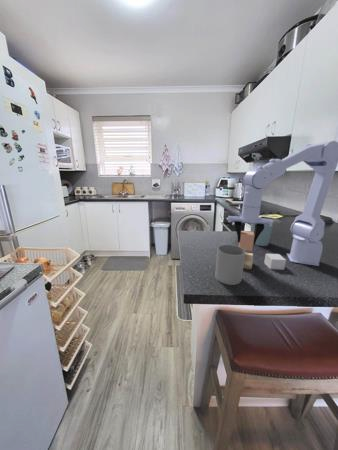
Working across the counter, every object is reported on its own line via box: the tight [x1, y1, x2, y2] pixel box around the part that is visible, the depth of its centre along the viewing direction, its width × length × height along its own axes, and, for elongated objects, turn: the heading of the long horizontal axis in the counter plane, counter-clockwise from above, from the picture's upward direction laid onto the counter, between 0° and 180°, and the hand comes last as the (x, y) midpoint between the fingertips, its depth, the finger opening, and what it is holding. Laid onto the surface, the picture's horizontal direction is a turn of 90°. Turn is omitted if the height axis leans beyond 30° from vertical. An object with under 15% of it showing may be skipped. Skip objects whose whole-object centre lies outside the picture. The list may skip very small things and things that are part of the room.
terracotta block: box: [238, 230, 255, 252], centre depth 70 cm, size 4×4×6 cm
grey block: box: [263, 253, 287, 271], centre depth 71 cm, size 5×5×4 cm
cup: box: [214, 244, 246, 286], centre depth 61 cm, size 8×8×10 cm
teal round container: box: [249, 217, 275, 247], centre depth 94 cm, size 10×10×12 cm
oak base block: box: [243, 251, 254, 270], centre depth 72 cm, size 6×6×4 cm
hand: (246, 242), depth 70 cm, fingers closed on terracotta block, 4 cm apart
